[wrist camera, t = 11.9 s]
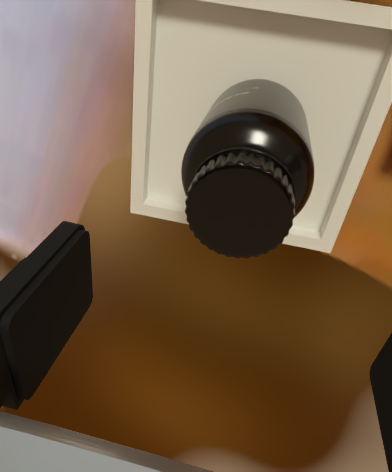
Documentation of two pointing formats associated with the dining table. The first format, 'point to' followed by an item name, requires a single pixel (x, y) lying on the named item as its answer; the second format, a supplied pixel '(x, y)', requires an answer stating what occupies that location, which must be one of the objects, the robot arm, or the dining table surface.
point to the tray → (269, 68)
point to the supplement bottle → (248, 169)
